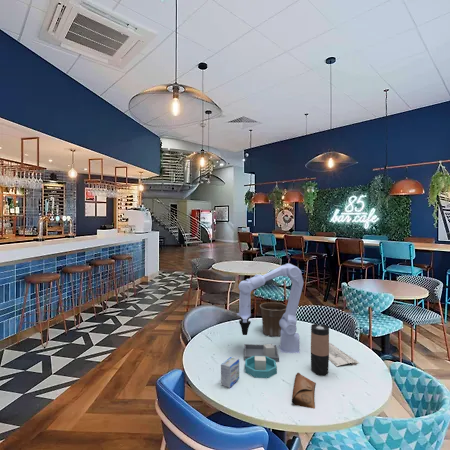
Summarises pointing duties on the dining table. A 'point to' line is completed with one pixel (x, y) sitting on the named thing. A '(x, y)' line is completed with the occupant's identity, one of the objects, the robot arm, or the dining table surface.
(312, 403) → the sunglasses case
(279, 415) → the dining table surface
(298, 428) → the dining table surface
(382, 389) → the dining table surface
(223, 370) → the medicine box
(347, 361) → the newspaper
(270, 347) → the light gray cube block
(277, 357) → the parts tray
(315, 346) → the travel mug
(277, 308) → the plant pot
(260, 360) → the white rectangular block
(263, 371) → the bowl
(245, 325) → the robot arm
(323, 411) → the dining table surface
